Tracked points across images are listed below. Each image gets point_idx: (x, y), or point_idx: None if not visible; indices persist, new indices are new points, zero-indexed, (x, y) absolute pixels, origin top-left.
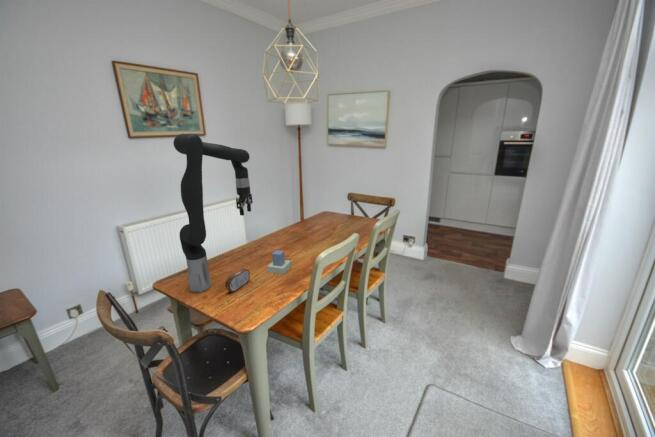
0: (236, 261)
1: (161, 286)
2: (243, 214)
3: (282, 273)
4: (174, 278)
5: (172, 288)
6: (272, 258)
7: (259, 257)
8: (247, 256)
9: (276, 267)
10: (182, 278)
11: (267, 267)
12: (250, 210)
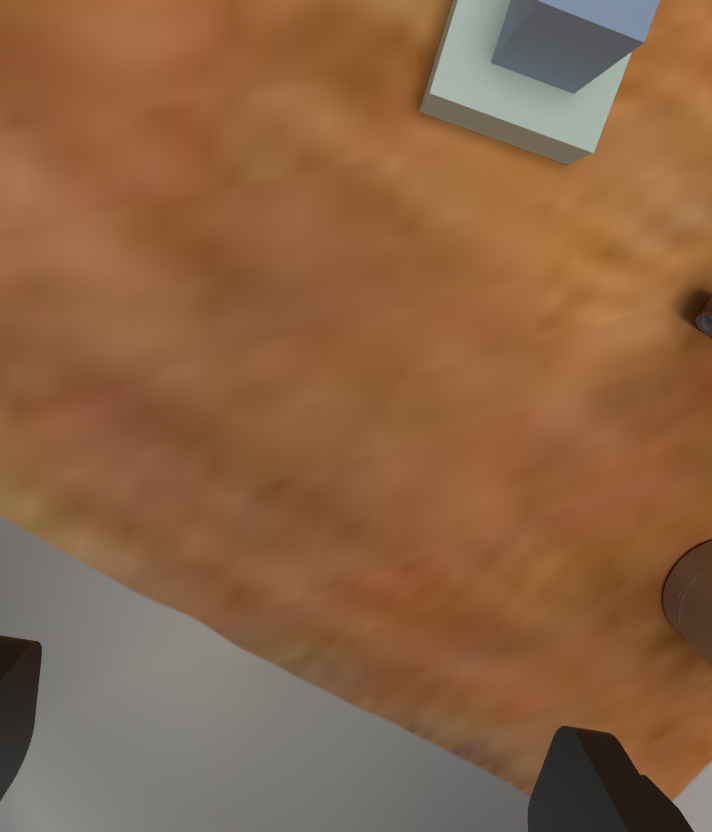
0: (339, 492)
1: None
2: (623, 753)
3: None
4: None
5: (696, 740)
6: (612, 65)
7: (259, 311)
8: (238, 429)
9: None
10: None
11: (590, 151)
12: (18, 666)
